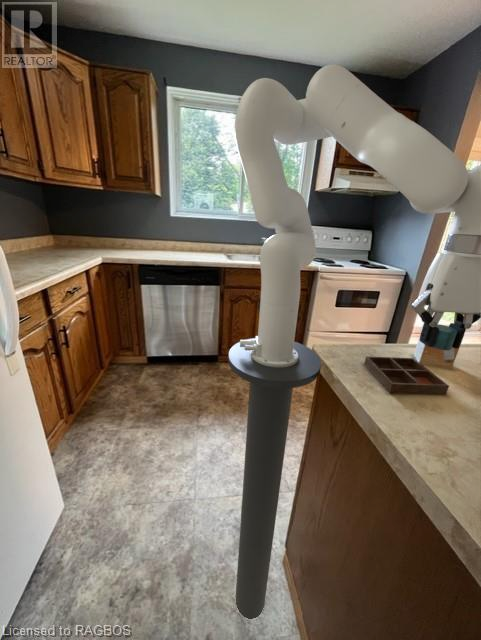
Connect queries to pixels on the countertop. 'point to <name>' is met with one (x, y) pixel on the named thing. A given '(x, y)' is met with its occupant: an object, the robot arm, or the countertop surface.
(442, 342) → the teal cylinder
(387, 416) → the countertop surface
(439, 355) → the small box
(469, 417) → the countertop surface
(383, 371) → the grid
